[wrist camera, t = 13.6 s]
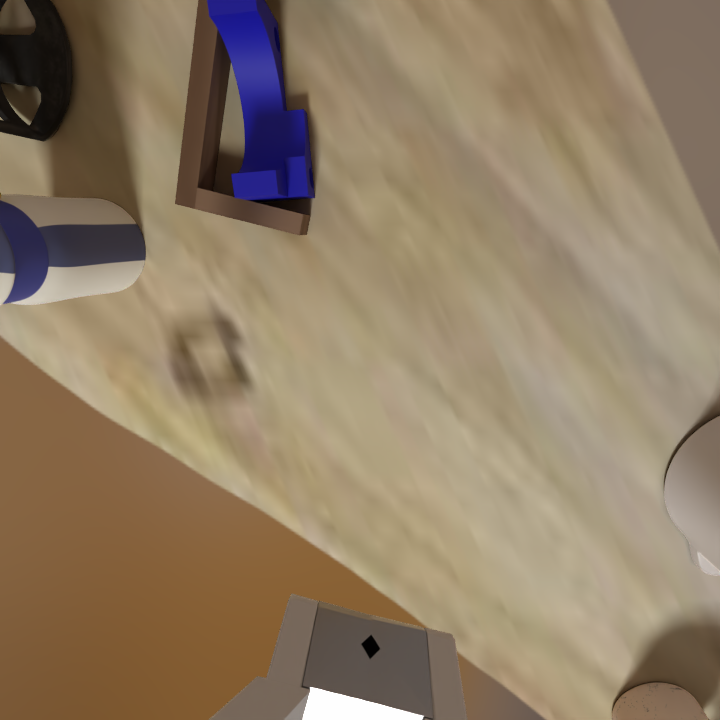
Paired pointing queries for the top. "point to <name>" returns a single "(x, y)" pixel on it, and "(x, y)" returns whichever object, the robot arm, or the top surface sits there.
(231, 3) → the cable clip
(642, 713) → the teacup with lid
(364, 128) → the top surface
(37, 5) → the holder
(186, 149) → the bracket
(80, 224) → the water bottle
